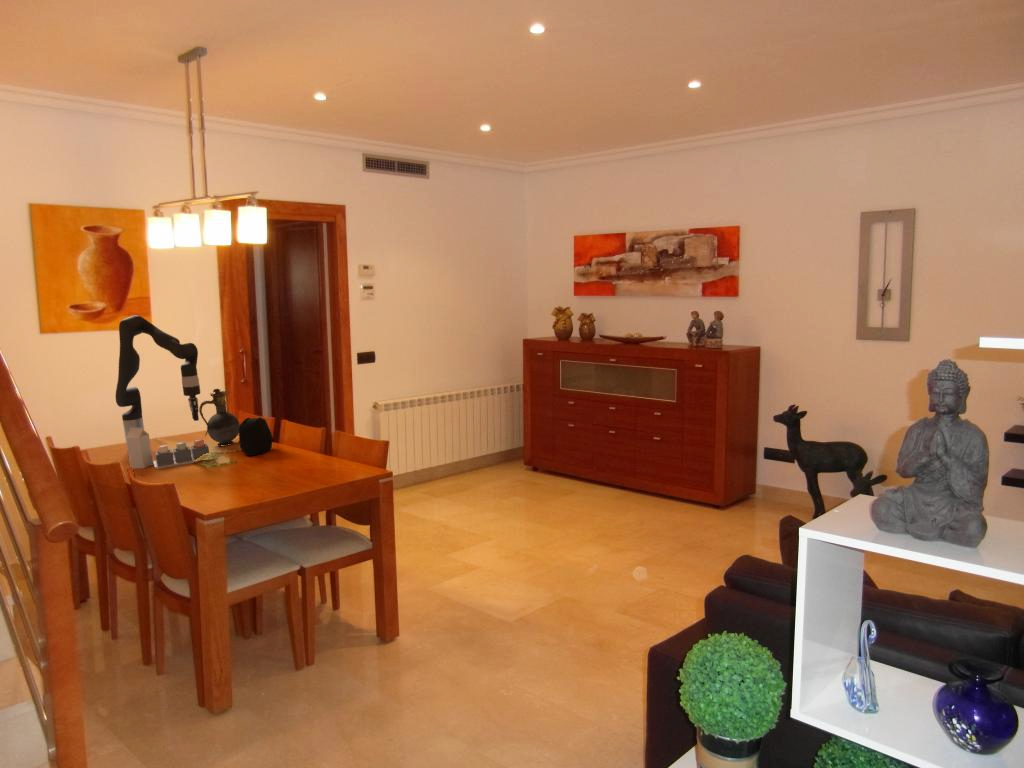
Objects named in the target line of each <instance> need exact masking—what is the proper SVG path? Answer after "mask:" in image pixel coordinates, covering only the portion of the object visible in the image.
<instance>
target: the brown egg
mask: <svg viewBox="0 0 1024 768" xmlns="http://www.w3.org/2000/svg"><path fill="white" fill-rule="evenodd" d="M193 444H194V445H193V446H195V448H198V447H204V444H205V442H204V439H195V440H193Z"/></svg>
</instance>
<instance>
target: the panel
mask: <svg viewBox="0 0 1024 768" xmlns="http://www.w3.org/2000/svg"><path fill="white" fill-rule="evenodd" d="M186 447H187V449H186V450H180V451H177V447H175V448H172V449H171V448H170V449H169V452H168V453H162V454H159V451H155V452H154V454H155V455H154V456H155V460H153V464H152V465H153V466H154V469H155V470H161V469H165V468H171V467H172V468H173V467H178V466H183V465H184V466H185V465H189V464H194V462H195V460H196V459H197V458H199V457H200V456H202V455H203V454H206V453H209V451H210V449H209V445H208V444H207V443H204V447H198V448H195V446H194V445H191V446H186ZM195 463H196V462H195Z"/></svg>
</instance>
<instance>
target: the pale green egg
mask: <svg viewBox="0 0 1024 768" xmlns="http://www.w3.org/2000/svg"><path fill="white" fill-rule="evenodd" d="M187 447H188V446H187V443H186V442H177V443H175V448H177V451H180V450H186V449H187Z"/></svg>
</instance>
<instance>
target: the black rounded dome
mask: <svg viewBox="0 0 1024 768" xmlns="http://www.w3.org/2000/svg"><path fill="white" fill-rule="evenodd" d="M239 424H240V426H239V434H238V438H239V441H238V443H237V444H239V447H240V450H241V451H242V452H243V453H244V454H246V456H254V455H260V454H264V453H266V452H269V451H270V450H271V449H272V447H273V443H274V442H275V439H274V437H273V435H272V432H271V429H270V427H269V425H268V423H267V420H266V419H265V418H264V417H261V416H260V417H252V418H251V417H247V418H245V419H244V420H243V421H242V422H241V423H239Z"/></svg>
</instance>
